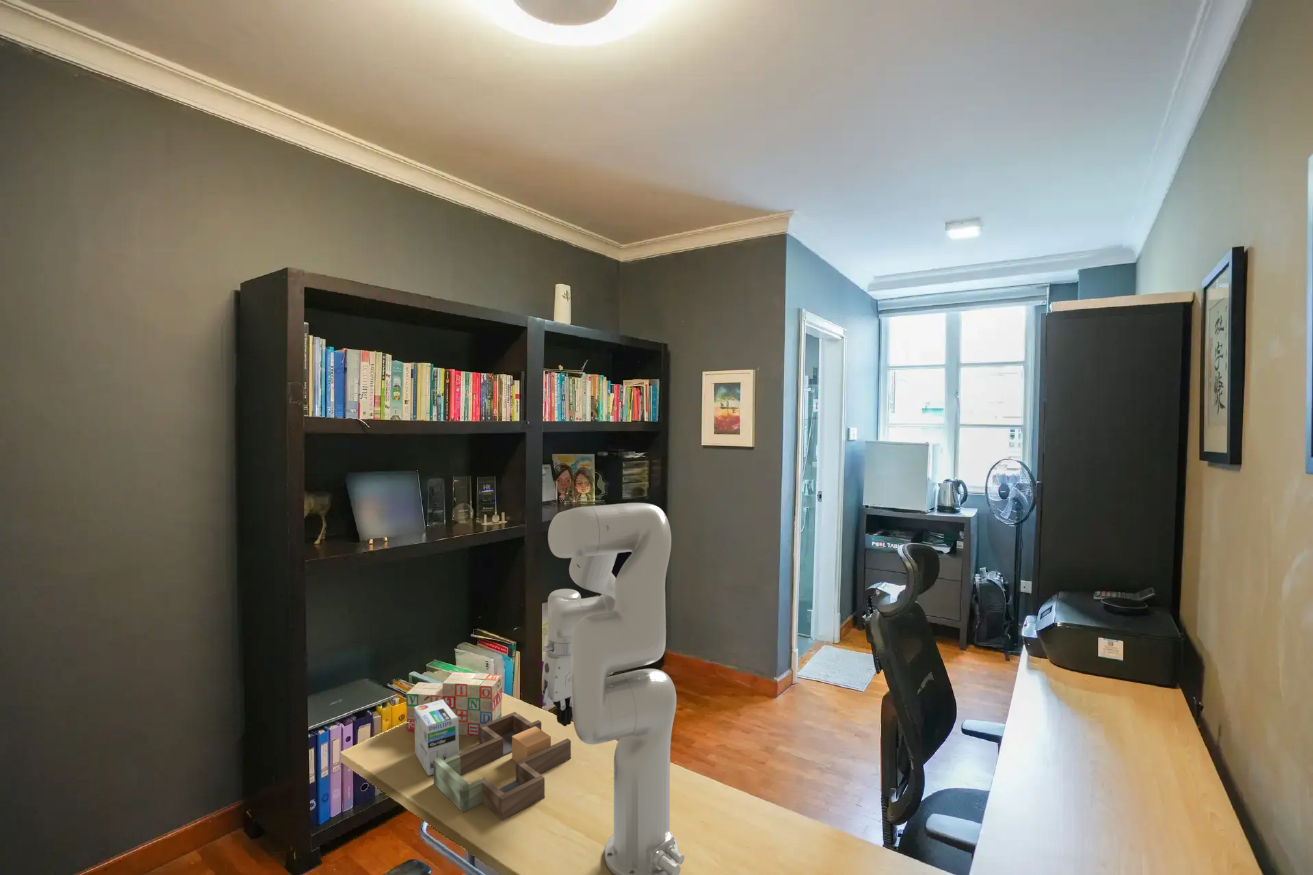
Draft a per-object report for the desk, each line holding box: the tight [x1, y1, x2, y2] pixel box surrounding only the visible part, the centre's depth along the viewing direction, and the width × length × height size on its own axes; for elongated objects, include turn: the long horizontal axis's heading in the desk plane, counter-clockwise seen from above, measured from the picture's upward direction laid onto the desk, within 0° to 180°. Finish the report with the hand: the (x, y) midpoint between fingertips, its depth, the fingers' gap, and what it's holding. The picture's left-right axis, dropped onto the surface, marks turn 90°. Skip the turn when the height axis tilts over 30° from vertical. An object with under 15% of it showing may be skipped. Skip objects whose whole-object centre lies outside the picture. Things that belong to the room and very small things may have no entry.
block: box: [511, 726, 552, 762], centre depth 131 cm, size 6×6×5 cm
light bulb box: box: [414, 699, 460, 776], centre depth 130 cm, size 11×7×11 cm, turn 37°
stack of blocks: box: [405, 671, 503, 737], centre depth 144 cm, size 21×6×12 cm, turn 84°
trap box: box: [433, 711, 572, 821], centre depth 126 cm, size 27×25×5 cm
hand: (564, 722), depth 138 cm, fingers closed
